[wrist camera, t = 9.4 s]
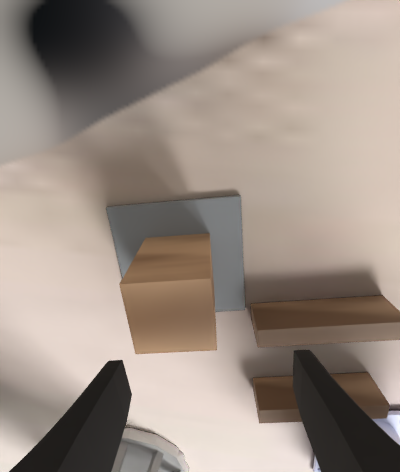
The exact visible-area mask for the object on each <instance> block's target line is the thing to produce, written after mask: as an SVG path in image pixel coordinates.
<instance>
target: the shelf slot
mask: <svg viewBox="0 0 400 472" xmlns="http://www.w3.org/2000/svg"><path fill="white" fill-rule="evenodd" d="M251 320H252V324H253V329H254V333H255V337H256V342H257V346H258V347H275V346H294V345H312V344H330V343H349V342H367V341H385V340H400V311H399V310H398V309H397V308H396V307H394V306H393V305H392V304H391V303H390V302H389V301H388V300H387V299H386V298H385V297H384V296H383V295H379V296H363V297H348V298H332V299H316V300H301V301H285V302H270V303H254V304H251ZM330 375H331V376H332V377H333V378H334V379H335V380H336V382H337V383H338V384H339V385H340V386H341V387H342V388H343V389H344V390H345V392H346V393H347V394H348V395H349V396H350V397H351V398H352V399H353V400H354V401H355V402H356V403H357V404H358V405H359V407H360V408H361V409H362V410H363V411H364V412H365V413H366V414H367V415H368V416H369V417H370V418H371V419H384V418H387V416H388V412H389V407H390V405H389V403H388V401H387V400H386V398H385V397H384V395H383V394H382V392H381V391H380V389H379V388H378V386H377V385H376V383H375V382H374V380H373V379H372V377H371V376H370V374H369V373H368V372H365V373H344V374H330ZM253 390H254V396H255V401H256V407H257V413H258V418H259V423H278V422H303V421H302V419H301V416H300V413H299V409H298V405H297V402H296V398H295V394H294V390H293V376H281V377H260V378H253Z"/></svg>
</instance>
